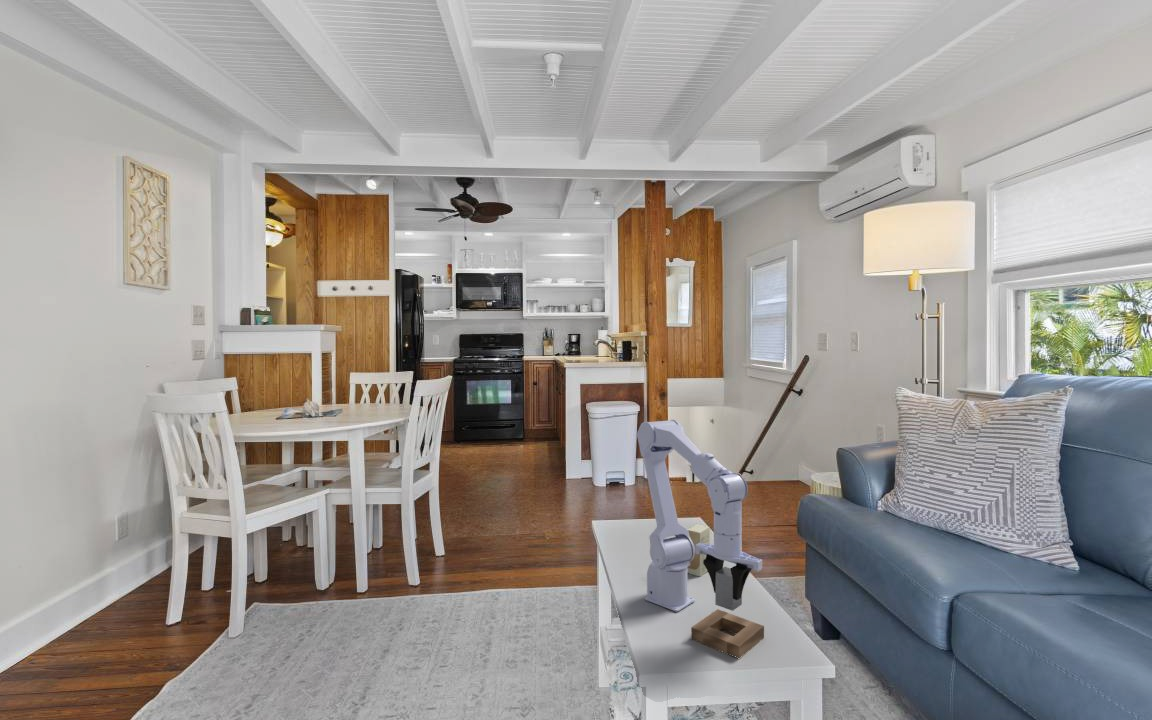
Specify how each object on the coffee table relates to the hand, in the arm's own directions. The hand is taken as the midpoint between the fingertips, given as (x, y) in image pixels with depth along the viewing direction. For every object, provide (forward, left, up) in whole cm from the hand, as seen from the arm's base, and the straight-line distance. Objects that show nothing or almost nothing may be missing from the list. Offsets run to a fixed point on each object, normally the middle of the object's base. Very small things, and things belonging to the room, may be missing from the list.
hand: (727, 594), depth 116 cm
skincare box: (-23, +26, -10) cm, 36 cm away
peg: (0, 0, -2) cm, 2 cm away
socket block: (0, 0, -9) cm, 9 cm away
